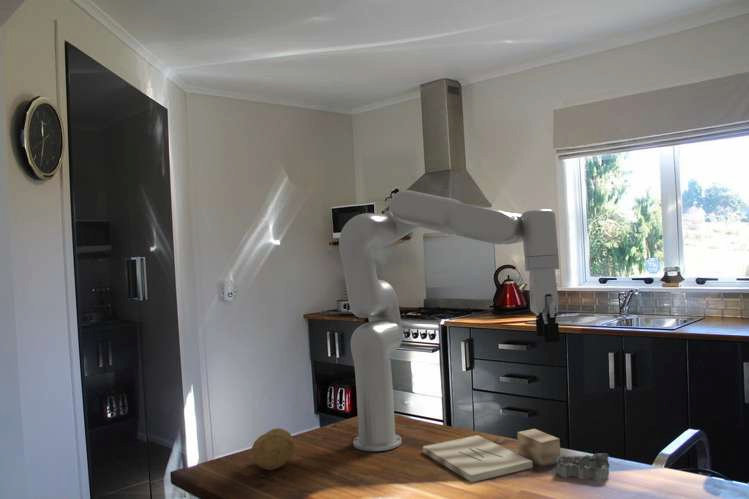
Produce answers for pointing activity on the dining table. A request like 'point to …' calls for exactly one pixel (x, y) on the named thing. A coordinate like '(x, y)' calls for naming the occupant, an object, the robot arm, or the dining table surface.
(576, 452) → the dining table surface
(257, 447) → the potato
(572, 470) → the egg carton
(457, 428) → the dining table surface
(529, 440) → the block
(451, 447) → the board
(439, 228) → the robot arm
